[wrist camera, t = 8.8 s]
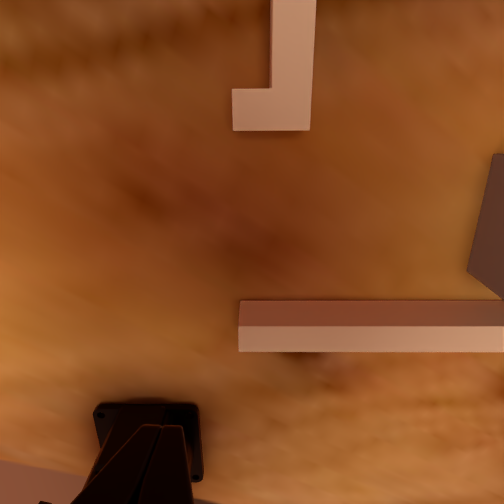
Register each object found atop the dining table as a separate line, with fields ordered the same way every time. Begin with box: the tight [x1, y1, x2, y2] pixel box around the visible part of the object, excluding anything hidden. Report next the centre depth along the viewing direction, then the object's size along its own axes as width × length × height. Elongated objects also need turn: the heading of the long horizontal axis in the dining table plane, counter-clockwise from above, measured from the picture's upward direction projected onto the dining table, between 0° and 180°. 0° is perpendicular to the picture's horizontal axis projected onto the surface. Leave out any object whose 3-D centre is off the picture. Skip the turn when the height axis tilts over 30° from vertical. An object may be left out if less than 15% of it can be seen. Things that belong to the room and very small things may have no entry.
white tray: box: [232, 0, 504, 352], centre depth 15 cm, size 18×22×4 cm
